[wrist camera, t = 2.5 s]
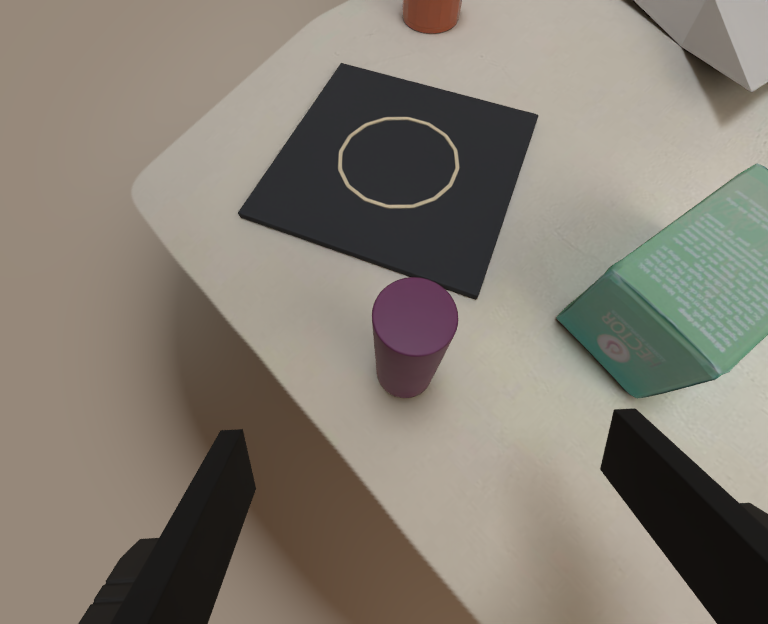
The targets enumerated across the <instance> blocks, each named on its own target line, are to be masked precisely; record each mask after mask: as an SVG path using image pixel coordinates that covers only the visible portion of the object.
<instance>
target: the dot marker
mask: <svg viewBox="0 0 768 624" xmlns="http://www.w3.org/2000/svg"><path fill="white" fill-rule="evenodd" d="M372 324H373V335H374V347H375V359H376V370H377V377H378V380H379V382H380V384H381V385H382V387H383V388H384V389H385V390H386V391H387V392H388V393H390V394H392V395H394V396H396V397H401V398H410V397H414V396H417V395H418V394H420V393H422V392H423V391H424V390H425V389H426V388H427V387H428V385H429V383H430V381H431V379H432V378H433V376H434V374H435V372H436V370H437V368H438V366H439V364H440V362H441V360H442V358H443V356H444V354H445V352H446V350H447V348H448V346H449V344H450V343H451V341H452V339H453V337H454V335H455V332H456V330H457V326H458V311H457V308H456V305H455V302H454V300H453V299H452V297H451V296H450V294H449V293H448V292H447V291H446V290H445V289H444V288H443V287H441V286H440V285H439V284H437V283H435V282H433V281H431V280H428V279H424V278H418V277H410V278H403V279H400V280H397V281H395V282H393V283H391V284H390V285H388V286H387V287H385V288H384V289H383V290H382V291H381V292H380V294H379V295H378V297H377V298H376V300H375V303H374V305H373V310H372Z"/></svg>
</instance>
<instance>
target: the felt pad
mask: <svg viewBox="0 0 768 624" xmlns="http://www.w3.org/2000/svg"><path fill="white" fill-rule="evenodd" d="M537 118H538V115H537V114H533V113H529V112H526V111H522V110H518V109H514V108H510V107H507V106H503V105H499V104H495V103H491V102H488V101H484V100H480V99H476V98H472V97H469V96H465V95H461V94H457V93H453V92H450V91H446V90H442V89H438V88H434V87H431V86H427V85H423V84H419V83H415V82H412V81H408V80H404V79H400V78H396V77H393V76H389V75H385V74H381V73H377V72H374V71H370V70H366V69H362V68H359V67H355V66H351V65H347V64H343V63H341V64H340V66H339V67H338V68H337V70H336V71H335V73H334V74H333V76H332V77H331V79H330V80H329V81H328V83H327V84H326V86H325V87H324V89H323V90H322V92H321V93H320V95H319V96H318V97H317V99H316V100H315V102H314V103H313V105H312V106H311V108H310V109H309V110H308V112H307V113H306V115H305V116H304V118H303V119H302V121H301V122H300V124H299V125H298V126H297V128H296V129H295V131H294V132H293V134H292V135H291V137H290V138H289V140H288V141H287V142H286V144H285V145H284V147H283V148H282V150H281V151H280V153H279V154H278V155H277V157H276V158H275V160H274V161H273V163H272V164H271V166H270V167H269V169H268V170H267V171H266V173H265V174H264V176H263V177H262V179H261V180H260V182H259V183H258V184H257V186H256V187H255V189H254V190H253V192H252V193H251V195H250V196H249V198H248V199H247V200H246V202H245V203H244V205H243V206H242V208H241V209H240V211H239V212H238V214H239V216H240V217H241V218H244V219H247V220H250V221H253V222H256V223H258V224H261V225H264V226H267V227H270V228H273V229H276V230H279V231H281V232H284V233H287V234H290V235H293V236H296V237H299V238H301V239H304V240H307V241H310V242H313V243H316V244H319V245H322V246H324V247H327V248H330V249H333V250H336V251H339V252H342V253H345V254H347V255H350V256H353V257H356V258H359V259H362V260H365V261H367V262H370V263H373V264H376V265H379V266H382V267H385V268H388V269H390V270H393V271H396V272H399V273H402V274H405V275H408V276H410V277H418V278H424V279H428V280H431V281H433V282H435V283H437V284H439V285H440V286H441V287H443V288H445V289H448V290H451V291H454V292H456V293H459V294H462V295H465V296H468V297H471V298H474V299H477V297H478V295H479V292H480V289H481V286H482V283H483V280H484V277H485V274H486V271H487V268H488V265H489V262H490V259H491V256H492V253H493V250H494V247H495V244H496V241H497V238H498V235H499V232H500V229H501V226H502V223H503V220H504V217H505V214H506V211H507V208H508V205H509V202H510V199H511V196H512V193H513V190H514V187H515V184H516V181H517V178H518V175H519V172H520V169H521V166H522V163H523V160H524V157H525V154H526V151H527V148H528V145H529V142H530V139H531V136H532V133H533V130H534V127H535V124H536V121H537Z"/></svg>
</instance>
